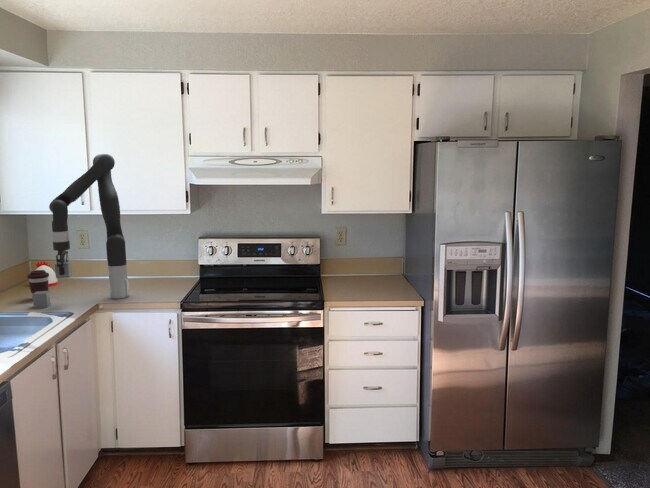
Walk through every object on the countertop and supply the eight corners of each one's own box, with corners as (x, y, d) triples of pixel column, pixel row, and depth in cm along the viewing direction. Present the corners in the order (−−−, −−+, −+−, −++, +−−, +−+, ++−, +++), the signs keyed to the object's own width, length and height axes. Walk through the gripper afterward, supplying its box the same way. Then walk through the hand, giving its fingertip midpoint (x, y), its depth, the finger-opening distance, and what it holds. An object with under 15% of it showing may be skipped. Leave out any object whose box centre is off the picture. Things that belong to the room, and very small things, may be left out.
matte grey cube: (71, 275, 268) (70, 261, 267) (69, 277, 263) (67, 263, 261) (58, 275, 267) (57, 262, 266) (55, 278, 261) (54, 264, 260)
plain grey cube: (50, 304, 268) (49, 290, 267) (47, 307, 262) (46, 293, 261) (37, 305, 266) (36, 291, 265) (34, 308, 261) (32, 294, 260)
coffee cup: (27, 302, 272) (24, 273, 270) (32, 297, 282) (29, 270, 280) (48, 300, 275) (46, 272, 273) (52, 296, 285) (50, 268, 282)
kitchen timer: (32, 283, 316) (30, 259, 314) (58, 281, 322) (56, 257, 319) (30, 288, 303) (28, 262, 301) (57, 286, 309) (55, 260, 307)
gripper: (65, 242, 256) (68, 276, 258) (72, 238, 270) (74, 270, 272) (48, 242, 254) (51, 276, 257) (56, 238, 268) (59, 271, 271)
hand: (63, 273), depth 264 cm, fingers closed on matte grey cube, 6 cm apart
